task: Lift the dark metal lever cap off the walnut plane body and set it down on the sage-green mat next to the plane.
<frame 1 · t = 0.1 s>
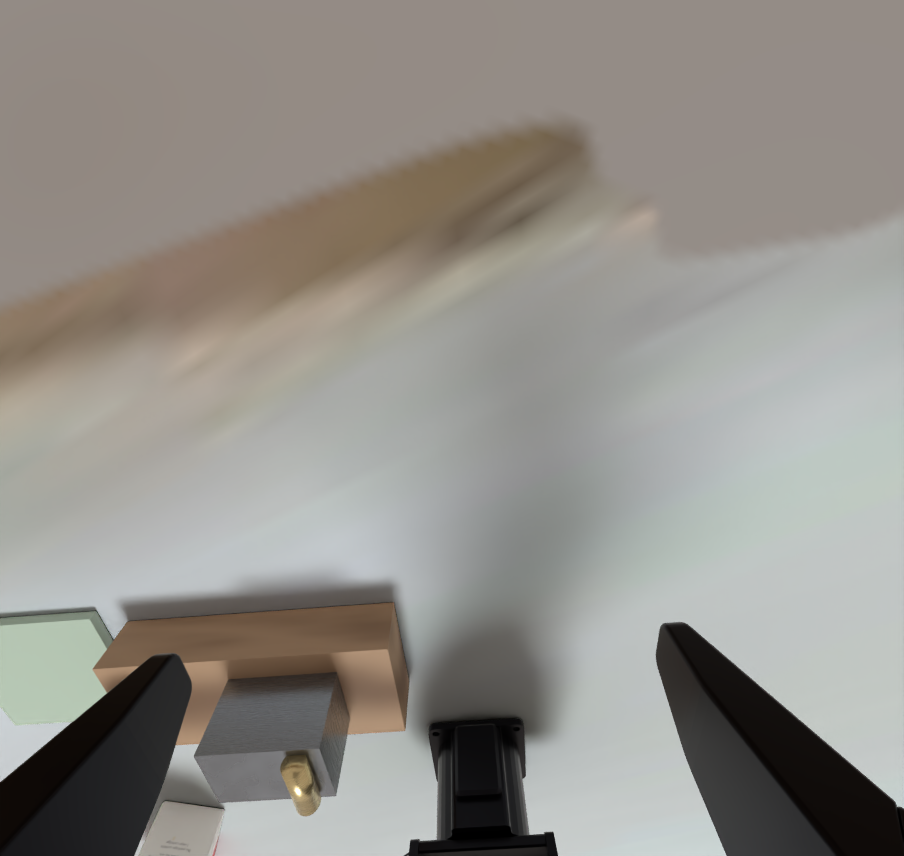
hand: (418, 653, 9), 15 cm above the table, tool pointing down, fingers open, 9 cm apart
ink cartridge box: (192, 827, 40), on the table
plane body: (274, 652, 30), on the table
lever cap: (291, 699, 27), point 3 cm above the table, touching plane body
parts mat: (56, 667, 31), on the table
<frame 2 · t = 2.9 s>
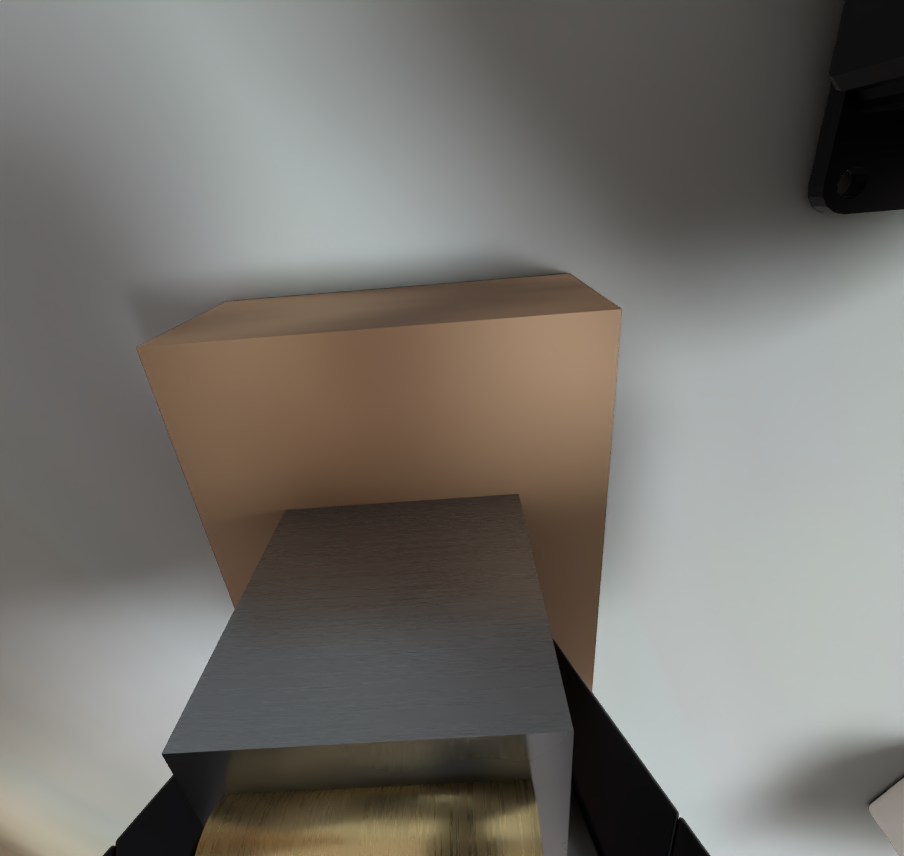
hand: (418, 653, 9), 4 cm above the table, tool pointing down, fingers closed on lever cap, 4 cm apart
plane body: (433, 584, 13), on the table
lever cap: (420, 626, 10), point 3 cm above the table, touching gripper, plane body
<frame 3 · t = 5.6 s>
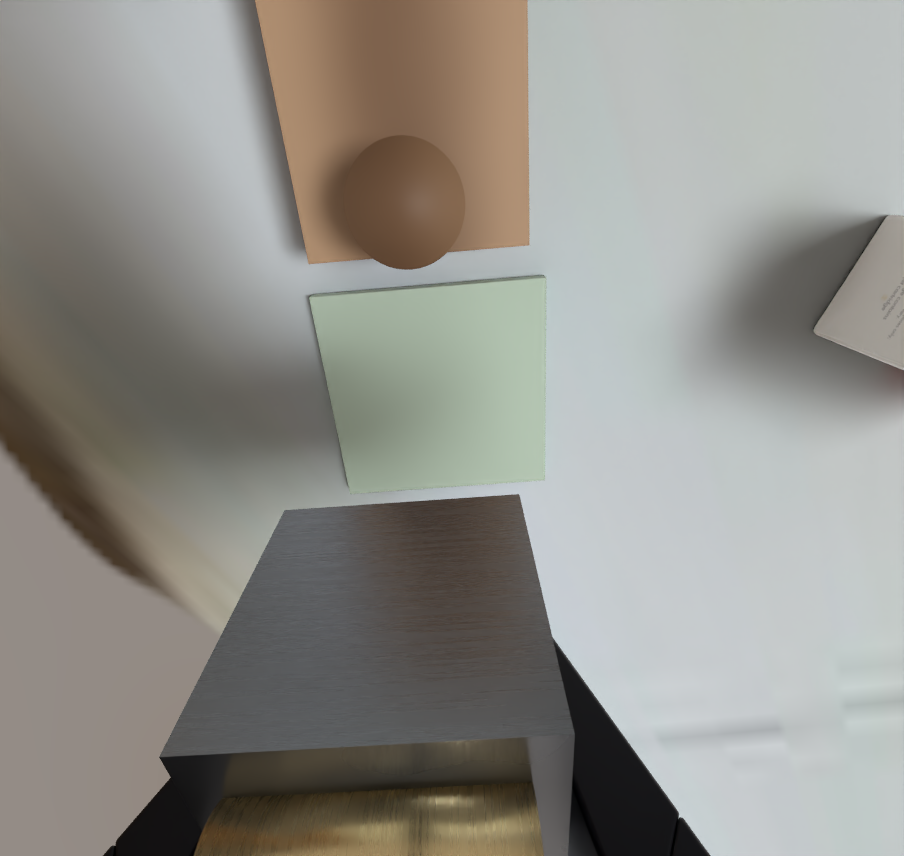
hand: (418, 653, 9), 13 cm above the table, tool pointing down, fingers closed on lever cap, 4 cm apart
lever cap: (419, 628, 10), point 13 cm above the table, touching gripper
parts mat: (438, 391, 21), on the table
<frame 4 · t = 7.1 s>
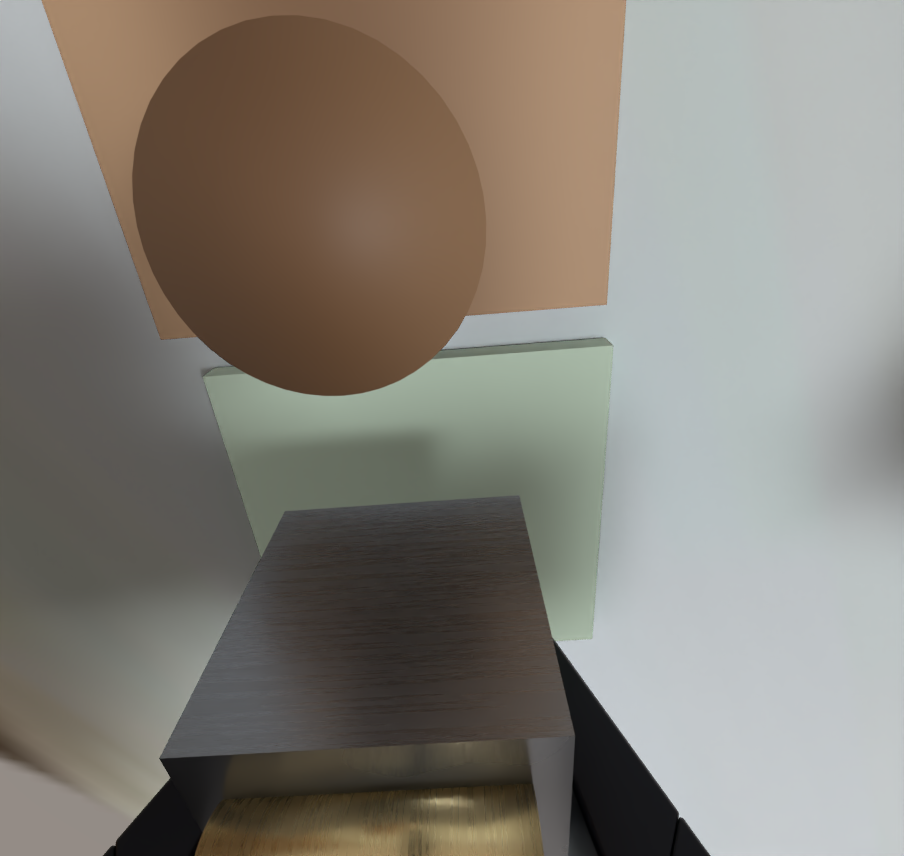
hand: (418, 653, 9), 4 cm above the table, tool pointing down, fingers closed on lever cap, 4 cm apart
lever cap: (420, 628, 10), point 4 cm above the table, touching gripper
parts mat: (427, 513, 13), on the table
when the fingers open (3 cm above the table, at t = 8.2 s): lever cap drops 2 cm, resting on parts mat.
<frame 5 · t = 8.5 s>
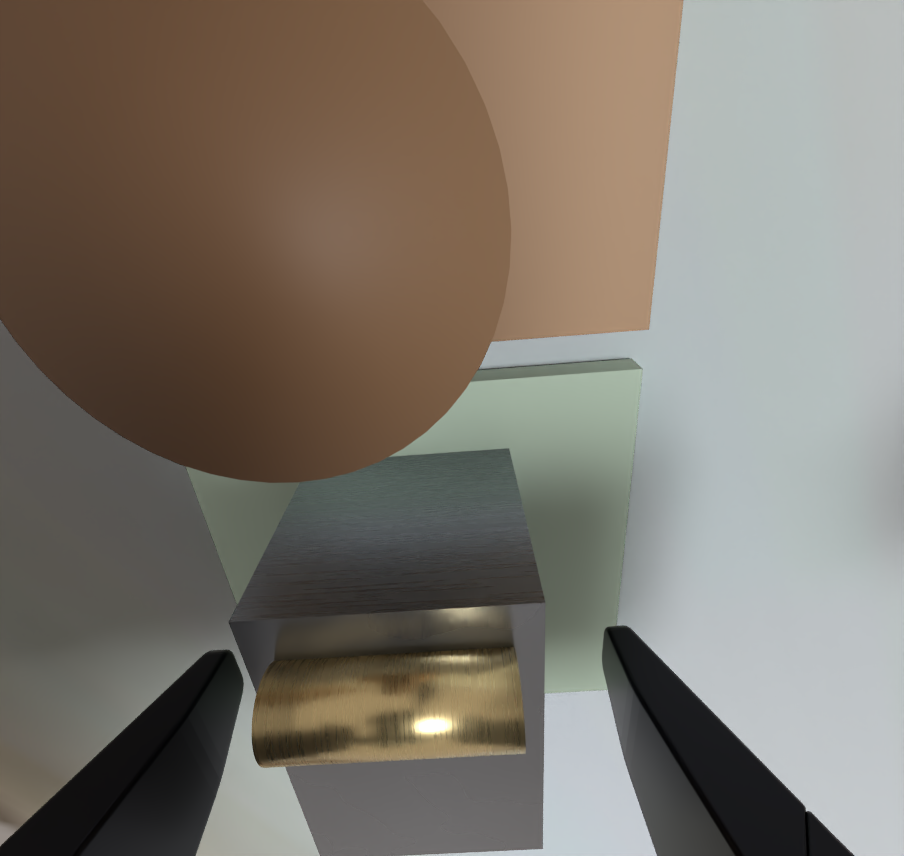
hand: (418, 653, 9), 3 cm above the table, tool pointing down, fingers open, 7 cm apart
lever cap: (424, 570, 11), point 1 cm above the table, touching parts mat
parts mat: (425, 553, 12), on the table
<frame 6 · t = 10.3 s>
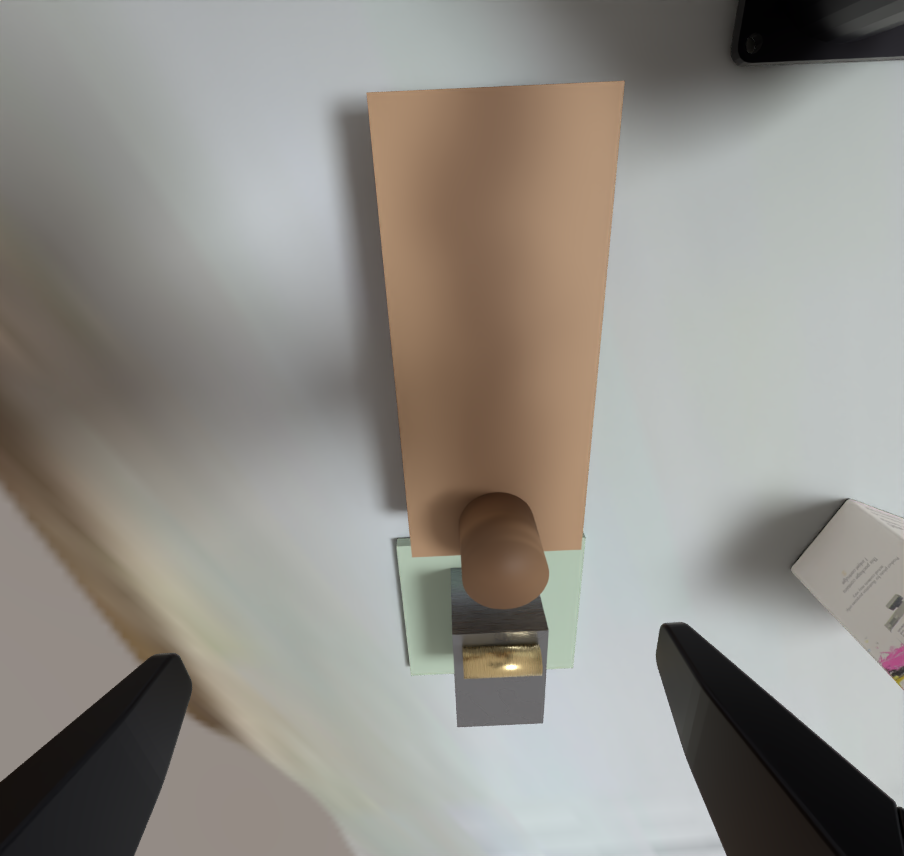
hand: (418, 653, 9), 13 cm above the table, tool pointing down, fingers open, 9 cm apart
ink cartridge box: (878, 552, 25), on the table
plane body: (488, 343, 19), on the table
lever cap: (491, 611, 25), point 1 cm above the table, touching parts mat
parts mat: (490, 603, 25), on the table
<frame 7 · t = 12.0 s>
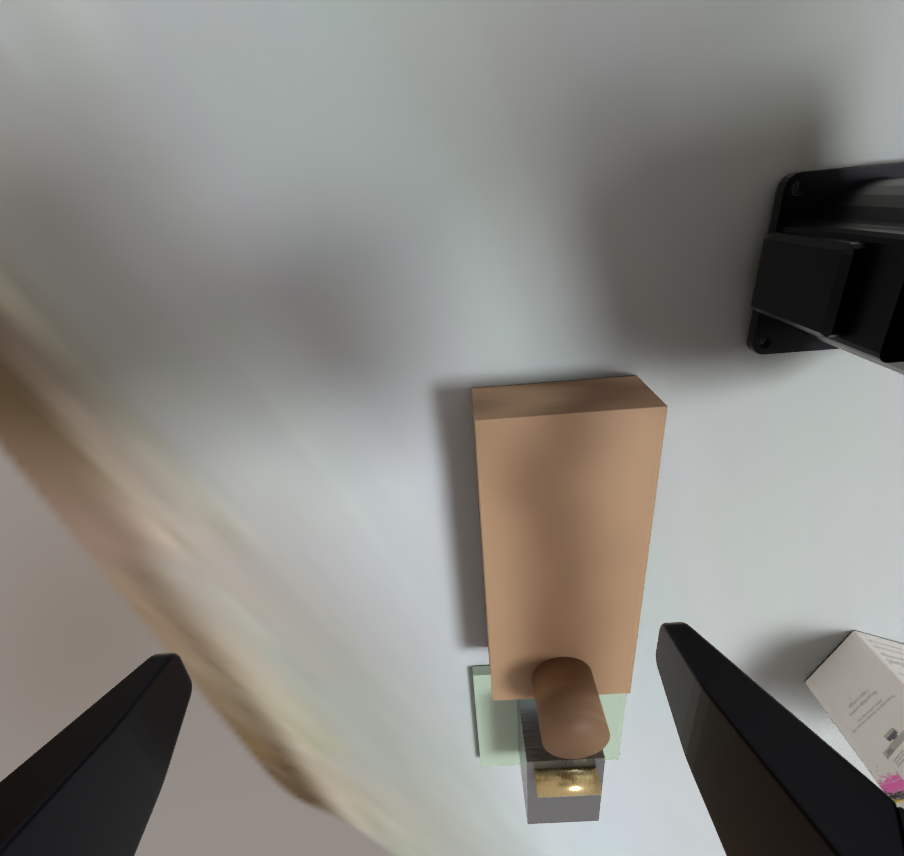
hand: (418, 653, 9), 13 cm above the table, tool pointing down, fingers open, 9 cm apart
ink cartridge box: (882, 667, 29), on the table
plane body: (551, 532, 24), on the table
lever cap: (550, 719, 30), point 1 cm above the table, touching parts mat
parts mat: (548, 710, 30), on the table
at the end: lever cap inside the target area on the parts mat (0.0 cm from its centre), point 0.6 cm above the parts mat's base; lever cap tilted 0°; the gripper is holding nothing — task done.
